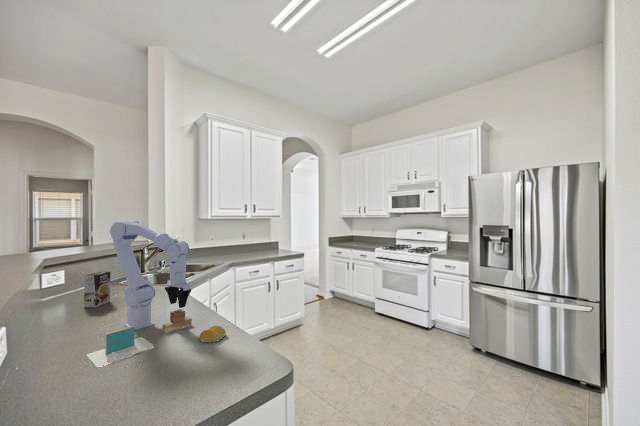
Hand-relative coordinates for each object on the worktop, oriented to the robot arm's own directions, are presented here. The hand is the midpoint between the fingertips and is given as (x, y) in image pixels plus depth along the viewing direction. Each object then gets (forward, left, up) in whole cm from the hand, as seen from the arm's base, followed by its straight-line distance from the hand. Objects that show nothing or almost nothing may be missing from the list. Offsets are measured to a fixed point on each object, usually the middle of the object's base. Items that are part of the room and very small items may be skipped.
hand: (177, 305), depth 108 cm
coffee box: (-62, -11, -10) cm, 64 cm away
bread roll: (+19, +4, -10) cm, 22 cm away
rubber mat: (+4, -20, -9) cm, 22 cm away
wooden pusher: (0, 0, -10) cm, 10 cm away
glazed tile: (+2, -20, -9) cm, 22 cm away
